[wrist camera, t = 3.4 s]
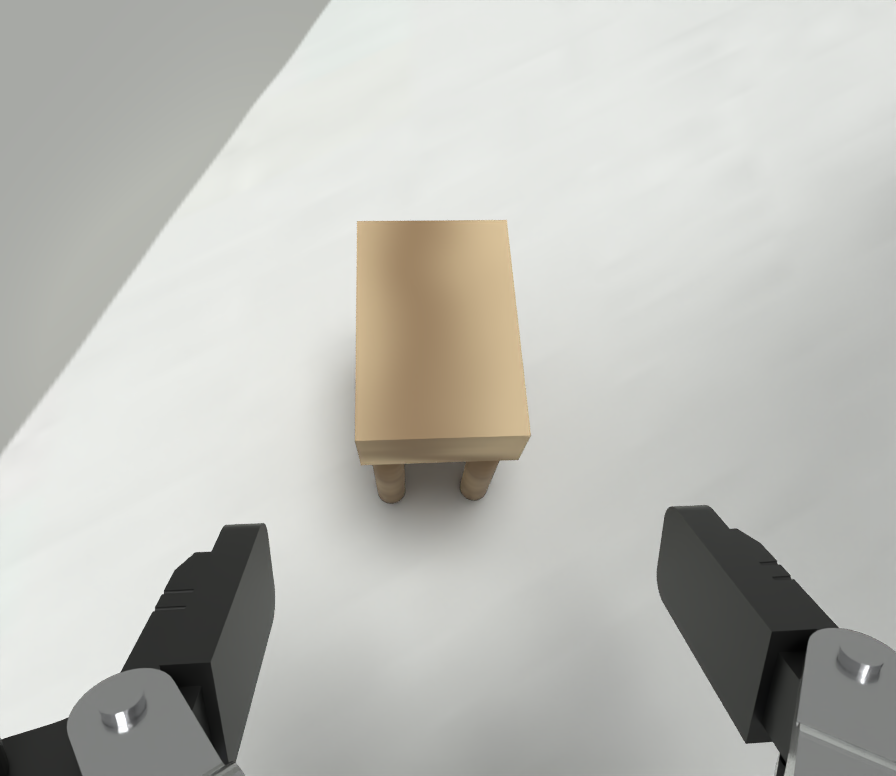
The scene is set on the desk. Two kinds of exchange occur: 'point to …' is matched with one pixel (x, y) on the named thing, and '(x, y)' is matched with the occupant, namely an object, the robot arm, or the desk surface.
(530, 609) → the desk surface
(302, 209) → the desk surface
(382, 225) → the oak stool
